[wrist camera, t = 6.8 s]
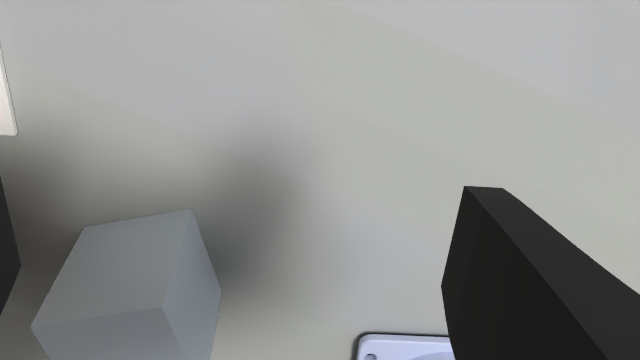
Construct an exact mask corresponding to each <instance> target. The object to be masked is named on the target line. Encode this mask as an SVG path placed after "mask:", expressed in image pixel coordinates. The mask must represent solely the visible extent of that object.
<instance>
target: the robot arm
mask: <svg viewBox="0 0 640 360" xmlns="http://www.w3.org/2000/svg"><path fill="white" fill-rule="evenodd" d="M20 267H21V263H20V259H19V254H18V250H17V246H16V242H15V237H14V233H13V229H12V225H11V220H10V216H9V212H8V208H7V203H6V199H5V195H4V191H3V186H2V182H1V178H0V315H1V312H2V310H3V308H4V306H5V303H6V301H7V299H8V297H9V294H10V292H11V289H12V287H13V284H14V282H15V279H16V277H17V274H18V272H19V269H20ZM441 288H442V295H443V302H444V309H445V316H446V322H447V328H448V333H449V337H427V336H404V335H380V334H369V335H366V336H363V337H362V338H361V339H360V341H359V346H358V353H357V359H356V360H640V294H638V293H637V292H635V291H634V290H633V289H631V288H630V287H628V286H627V285H626V284H624V283H623V282H622V281H620V280H619V279H618V278H616V277H615V276H614V275H612V274H611V273H610V272H608V271H607V270H606V269H604V268H603V267H602V266H601V265H599V264H598V263H597V262H595V261H594V260H593V259H592V258H590V257H589V256H588V255H587V254H585V253H584V252H583V251H581V250H580V249H579V248H578V247H576V246H575V245H574V244H573V243H572V242H570V241H569V240H568V239H567V238H565V237H564V236H563V235H562V234H560V233H559V232H558V231H557V230H556V229H554V228H553V227H552V226H551V225H549V224H548V223H547V222H546V221H545V220H543V219H542V218H541V217H540V216H538V215H537V214H536V213H535V212H534V211H532V210H531V209H530V208H529V207H527V206H526V205H525V204H524V203H522V202H521V201H520V200H518V199H517V198H516V197H514V196H513V195H512V194H510V193H509V192H507V191H506V190H505V189H503V188H492V187H474V186H464V189H463V193H462V198H461V202H460V206H459V211H458V215H457V219H456V224H455V228H454V232H453V236H452V241H451V245H450V249H449V254H448V258H447V262H446V267H445V271H444V275H443V279H442V284H441ZM367 354H373V355H367Z"/></svg>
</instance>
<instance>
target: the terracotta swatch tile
mask: <svg viewBox="0 0 640 360" xmlns="http://www.w3.org/2000/svg"><path fill="white" fill-rule="evenodd" d="M17 134H18V130H17V126H16V121H15V116H14V111H13V106H12V102H11V97H10V92H9V87H8V82H7V77H6V73H5V68H4V63H3V58H2V53H1V49H0V135H10V136H16V135H17Z"/></svg>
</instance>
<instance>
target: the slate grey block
mask: <svg viewBox="0 0 640 360" xmlns="http://www.w3.org/2000/svg"><path fill="white" fill-rule="evenodd" d="M221 296H222V290H221V288H220V285H219V282H218V279H217V277H216V274H215V271H214V269H213V266H212V263H211V260H210V258H209V255H208V252H207V249H206V247H205V244H204V241H203V238H202V236H201V233H200V230H199V228H198V225H197V222H196V219H195V217H194V214H193V211H192V208H191V209H185V210H179V211H174V212H168V213H162V214H156V215H150V216H144V217H138V218H132V219H127V220H121V221H115V222H109V223H103V224H97V225H91V226H85V227H84V228H83V230H82V232H81V234H80V236H79V238H78V239H77V241H76V243H75V245H74V247H73V248H72V250H71V252H70V254H69V256H68V258H67V259H66V261H65V263H64V265H63V267H62V269H61V270H60V272H59V274H58V276H57V278H56V280H55V281H54V283H53V285H52V287H51V289H50V291H49V292H48V294H47V296H46V298H45V300H44V301H43V303H42V305H41V307H40V309H39V311H38V312H37V314H36V316H35V318H34V320H33V322H32V323H31V325H30V329H31V330H32V332H33V334H34V335H35V337H36V338H37V340H38V342H39V343H40V345H41V347H42V348H43V350H44V352H45V353H46V355H47V356H48V358H49V360H210V356H211V350H212V345H213V339H214V334H215V328H216V323H217V318H218V312H219V307H220V301H221Z"/></svg>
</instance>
